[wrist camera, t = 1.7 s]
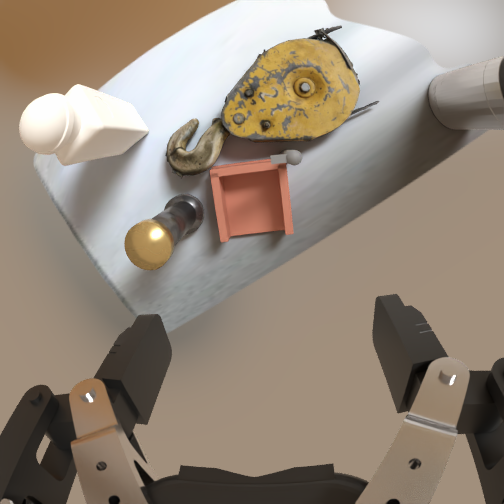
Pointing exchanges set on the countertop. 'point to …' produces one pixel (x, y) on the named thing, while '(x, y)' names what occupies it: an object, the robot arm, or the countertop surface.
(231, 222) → the keeper bracket
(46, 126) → the white square bottle
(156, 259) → the tie-down post
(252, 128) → the pulley block
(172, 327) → the countertop surface
